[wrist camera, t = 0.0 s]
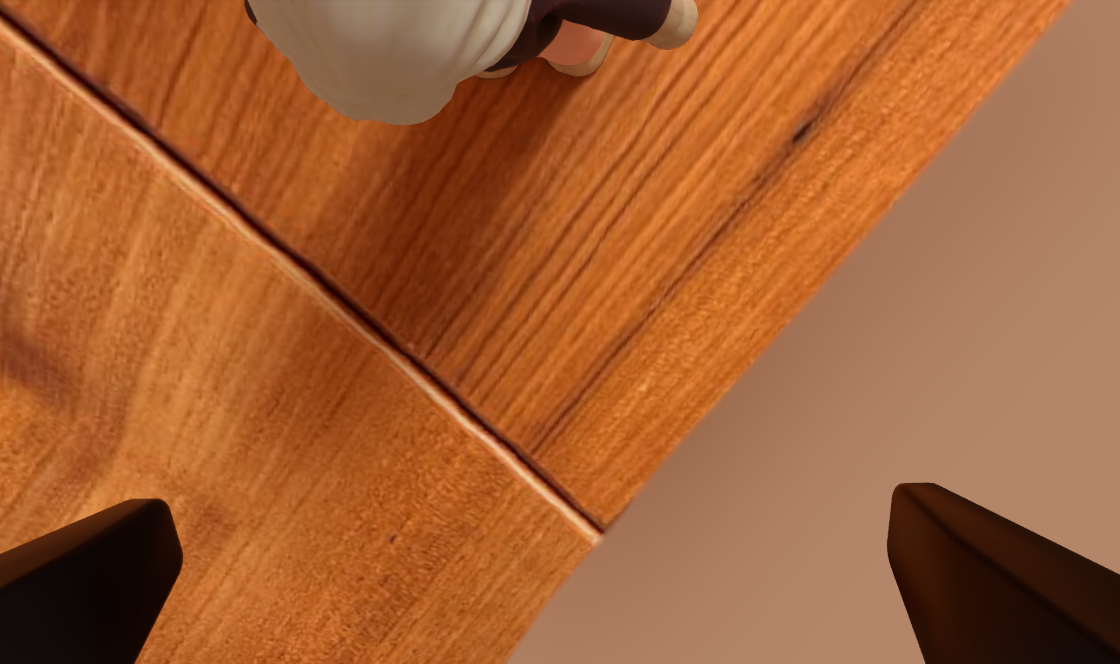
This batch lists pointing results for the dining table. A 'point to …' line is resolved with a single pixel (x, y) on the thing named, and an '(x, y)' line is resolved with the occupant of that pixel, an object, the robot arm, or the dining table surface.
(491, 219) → the dining table surface
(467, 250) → the dining table surface
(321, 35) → the grandmother figurine
